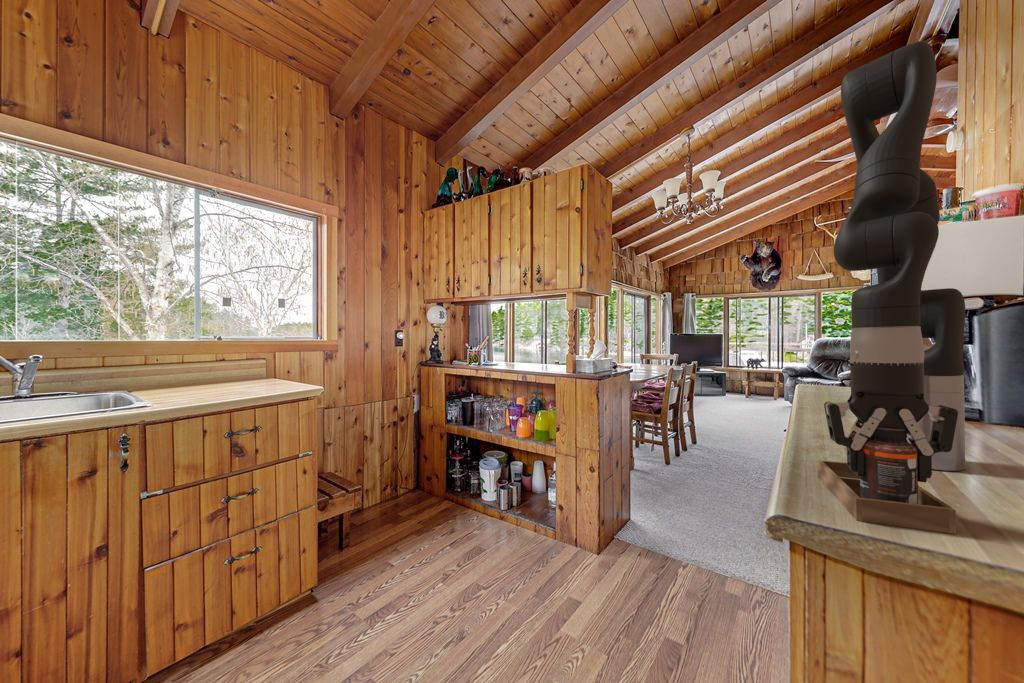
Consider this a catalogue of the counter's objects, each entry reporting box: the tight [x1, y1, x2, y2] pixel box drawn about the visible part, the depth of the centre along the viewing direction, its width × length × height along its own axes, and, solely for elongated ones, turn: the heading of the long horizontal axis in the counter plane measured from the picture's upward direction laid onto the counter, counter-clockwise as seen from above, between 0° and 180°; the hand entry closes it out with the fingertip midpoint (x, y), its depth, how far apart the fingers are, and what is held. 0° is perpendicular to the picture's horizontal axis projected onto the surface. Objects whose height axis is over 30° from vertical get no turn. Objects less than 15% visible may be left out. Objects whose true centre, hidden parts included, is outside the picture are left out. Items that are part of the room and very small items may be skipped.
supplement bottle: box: [860, 428, 919, 504], centre depth 55 cm, size 6×6×11 cm
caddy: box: [817, 459, 957, 535], centre depth 59 cm, size 18×10×3 cm, turn 155°
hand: (887, 476), depth 55 cm, fingers closed on supplement bottle, 6 cm apart
